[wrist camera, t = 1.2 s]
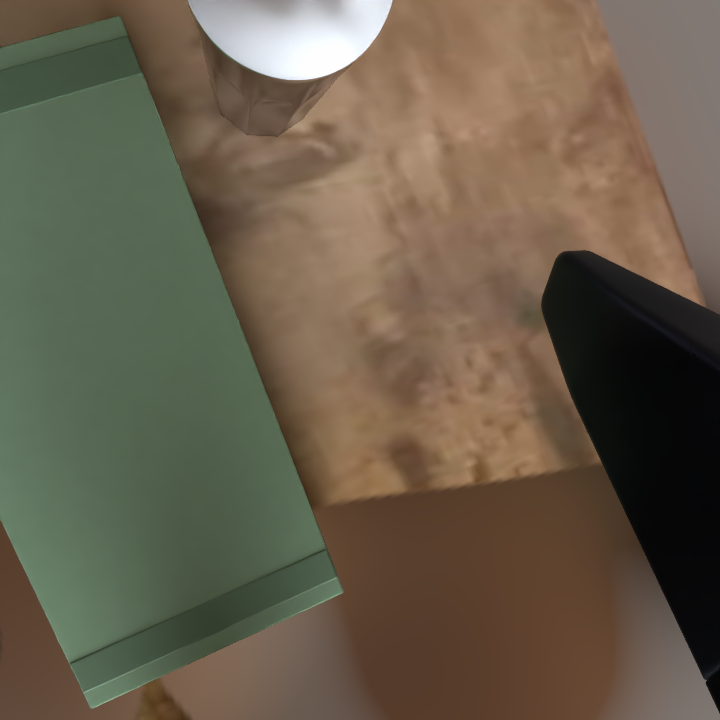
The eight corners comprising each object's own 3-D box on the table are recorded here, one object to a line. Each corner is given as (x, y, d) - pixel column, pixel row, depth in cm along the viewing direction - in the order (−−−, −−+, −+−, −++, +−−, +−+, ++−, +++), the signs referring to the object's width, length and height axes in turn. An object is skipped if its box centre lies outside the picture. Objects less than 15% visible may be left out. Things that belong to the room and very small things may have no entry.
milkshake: (297, -23, 21) (367, -292, 12) (345, 138, 22) (449, 12, 13) (162, 8, 21) (116, -255, 11) (218, 174, 21) (223, 68, 12)
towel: (338, 580, 24) (344, 593, 23) (96, 691, 22) (90, 710, 21) (124, 28, 20) (120, 13, 19) (-179, 111, 19) (-201, 100, 18)
